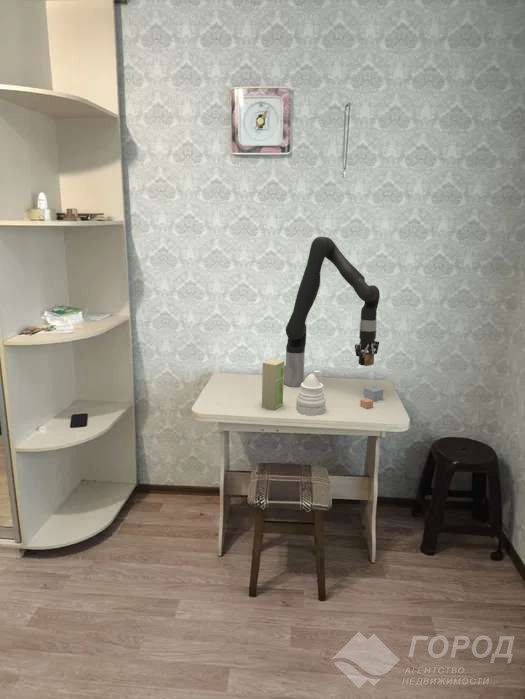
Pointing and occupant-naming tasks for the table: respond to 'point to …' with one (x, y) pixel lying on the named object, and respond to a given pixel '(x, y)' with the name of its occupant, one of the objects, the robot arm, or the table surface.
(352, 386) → the table surface
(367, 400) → the terracotta block
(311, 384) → the honey pot
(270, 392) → the toy refrigerator
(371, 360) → the walnut block
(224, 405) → the table surface
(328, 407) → the table surface
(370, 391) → the slate block
